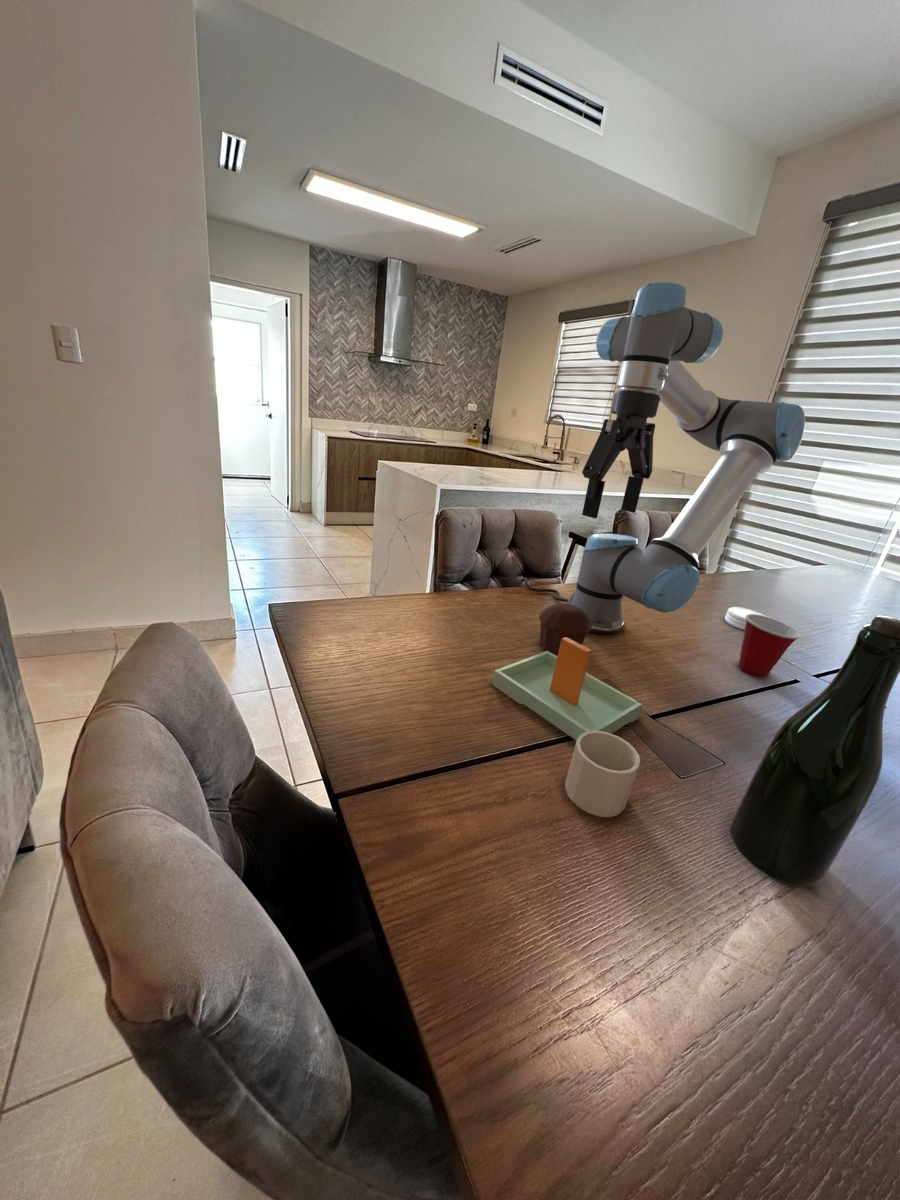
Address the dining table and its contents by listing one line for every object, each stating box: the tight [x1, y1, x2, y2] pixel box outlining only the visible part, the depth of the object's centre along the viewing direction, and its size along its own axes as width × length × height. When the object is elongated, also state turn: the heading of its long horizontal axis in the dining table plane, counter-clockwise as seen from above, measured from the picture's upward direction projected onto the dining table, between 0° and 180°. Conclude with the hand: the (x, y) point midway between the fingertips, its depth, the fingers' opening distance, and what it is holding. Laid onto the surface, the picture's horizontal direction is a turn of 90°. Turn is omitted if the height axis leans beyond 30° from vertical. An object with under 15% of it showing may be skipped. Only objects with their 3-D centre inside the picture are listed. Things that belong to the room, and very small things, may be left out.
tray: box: [491, 650, 643, 742], centre depth 86 cm, size 22×16×3 cm
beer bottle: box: [729, 615, 900, 888], centre depth 54 cm, size 10×10×33 cm
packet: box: [550, 637, 593, 706], centre depth 84 cm, size 6×1×11 cm, turn 40°
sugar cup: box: [564, 731, 641, 818], centre depth 64 cm, size 8×8×8 cm
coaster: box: [724, 606, 765, 631], centre depth 132 cm, size 10×10×4 cm
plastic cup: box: [738, 614, 803, 678], centre depth 105 cm, size 11×11×12 cm
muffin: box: [538, 602, 592, 656], centre depth 105 cm, size 12×11×10 cm
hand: (609, 513), depth 89 cm, fingers open, 13 cm apart
